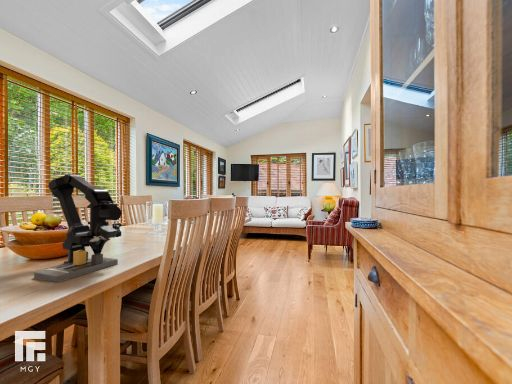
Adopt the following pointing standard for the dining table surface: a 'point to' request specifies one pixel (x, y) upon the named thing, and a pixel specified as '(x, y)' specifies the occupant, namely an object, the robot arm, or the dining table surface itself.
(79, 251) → the toggle
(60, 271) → the panel
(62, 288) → the dining table surface
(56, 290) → the dining table surface
